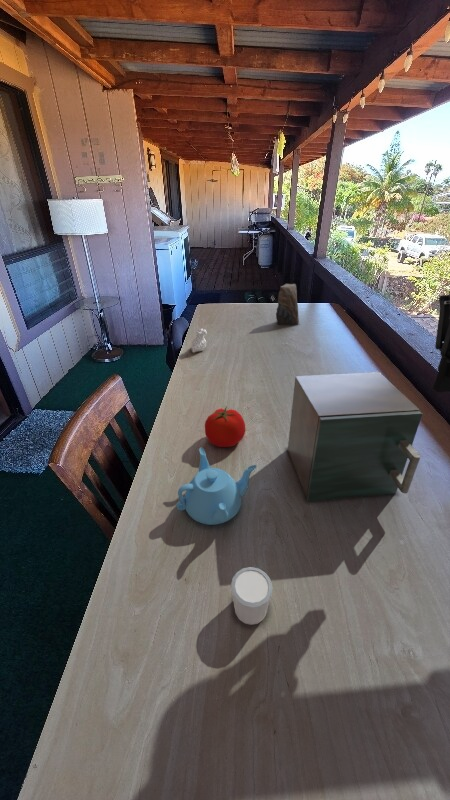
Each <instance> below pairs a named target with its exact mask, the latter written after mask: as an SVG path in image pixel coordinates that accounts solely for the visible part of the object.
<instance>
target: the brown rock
mask: <svg viewBox="0 0 450 800" xmlns="http://www.w3.org/2000/svg"><path fill="white" fill-rule="evenodd" d="M297 289H298V287H297V284H296V283H284V284H283V285H280V287H279V291H278V295H277V308H276V313H275V318H276V322H277V325H278V326H288V325H290V326H291V325H293V326H294V325H299V323H300V317H299V305H298V304H299V303H298V290H297Z"/></svg>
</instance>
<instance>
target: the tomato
mask: <svg viewBox="0 0 450 800" xmlns="http://www.w3.org/2000/svg"><path fill="white" fill-rule="evenodd" d="M227 407H228V405H226V406H225V408H217V409H216V410H214V412H212V414H210V415H209V416H207V418H206V419H205V422H204V434H205V436H206V438H207V440H208V441H209V443H211V445H214V446H215V447H219V448H231V447H234V446H235V445H237V444H238V443H239V442H241V441H242V440H243V438H244V436H245V434H246V423H245V420H244V417H243V416H242V414H241V413H240V412H238V410H236V409H231V408H230V409H227Z"/></svg>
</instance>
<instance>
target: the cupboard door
mask: <svg viewBox="0 0 450 800" xmlns="http://www.w3.org/2000/svg"><path fill="white" fill-rule="evenodd" d="M422 417H423V412H421V410H420V411H413V412H397V413H382V414H366V415H351V416H335V417H320V418H319V423H318V429H317V436H316V442H315V449H314V455H313V461H312V468H311V474H310V481H309V487H308V493H307V497H306V500H307V502H317V501H325V500H326V501H327V500H339V499H350V498H351V499H352V498H361V497H373V496H386V495H388V496H389V495H396V494H397V491H398V490H399V491H400V492H401V493H403V494H408V493H409V491H410V487H411V485H412V483H413V482H412V481H413V480H414V476H415V473H416V471H417V469H418V465H419V463H420V460H421V454H420V453H419V452H418V451H417V449H415V448H414V446H413V444H414V442H415V441H414V440H415V438H416V435H417V433H418V429H419V426H420V423H421V419H422ZM407 461H409V462H408V464H407ZM406 466H407V467H406ZM405 467H406V470H405ZM404 471H405V472H404ZM403 473H404V476H403Z"/></svg>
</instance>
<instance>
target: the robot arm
mask: <svg viewBox="0 0 450 800" xmlns="http://www.w3.org/2000/svg"><path fill="white" fill-rule="evenodd" d="M438 304H439V312H438V320H437V321H438V322H437V330H436V336H435V346H434V347H435V350H437V351H438V350H439V352H440V353H439V354H440V356H441V357H440V360H439V363H438V366H437V371H438V372H437V375H436V378H435V381H434V384H433V388H432V389H433V391H435V392H437V393H447V392H448V393H449V392H450V293H448V294H445V295H444V294H441V295H440V296H439V297H438Z"/></svg>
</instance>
